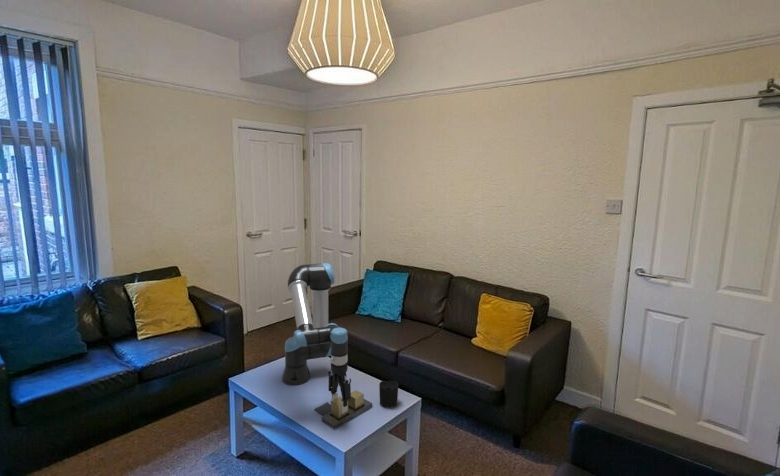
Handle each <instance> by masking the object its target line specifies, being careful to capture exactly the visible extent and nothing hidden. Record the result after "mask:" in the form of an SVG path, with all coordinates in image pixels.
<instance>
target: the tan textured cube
mask: <svg viewBox="0 0 780 476" xmlns="http://www.w3.org/2000/svg"><path fill="white" fill-rule="evenodd" d="M341 400H342V396H338V398H336V399H334V400H332V399H331V401H330V404H331V416H332V417H333V418H335V419H337V420H338V421H340V420H341V419H343V418H345V417H347V416H348V401H347V411H346V412H344V413H343V414H342V413H341Z"/></svg>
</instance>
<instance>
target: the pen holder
mask: <svg viewBox="0 0 780 476" xmlns="http://www.w3.org/2000/svg"><path fill="white" fill-rule="evenodd" d="M378 385H379V389H378V390H379V404H380V406H381V407H384V408H388V409H389V408H394V407H396V406H397V404H398V400H399V399H398V396H399V383H398V381H396V380H390V381H389V380H382V381H380V382H379V384H378Z"/></svg>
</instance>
